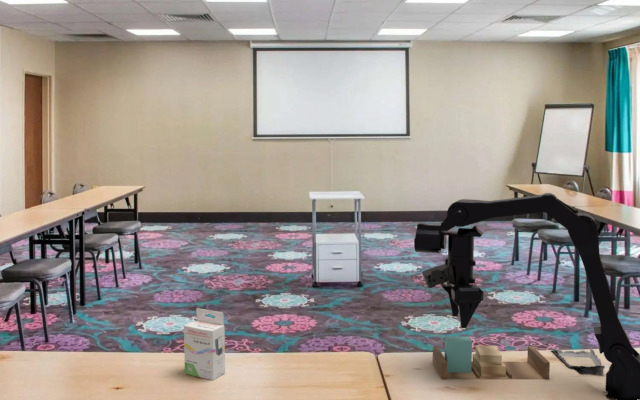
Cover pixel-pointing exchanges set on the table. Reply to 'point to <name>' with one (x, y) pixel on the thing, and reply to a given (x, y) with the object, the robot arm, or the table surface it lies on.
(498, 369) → the offcut low
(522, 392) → the table surface
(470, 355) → the teal rectangular block
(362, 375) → the table surface
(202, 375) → the ink box
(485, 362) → the offcut top
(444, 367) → the rack
